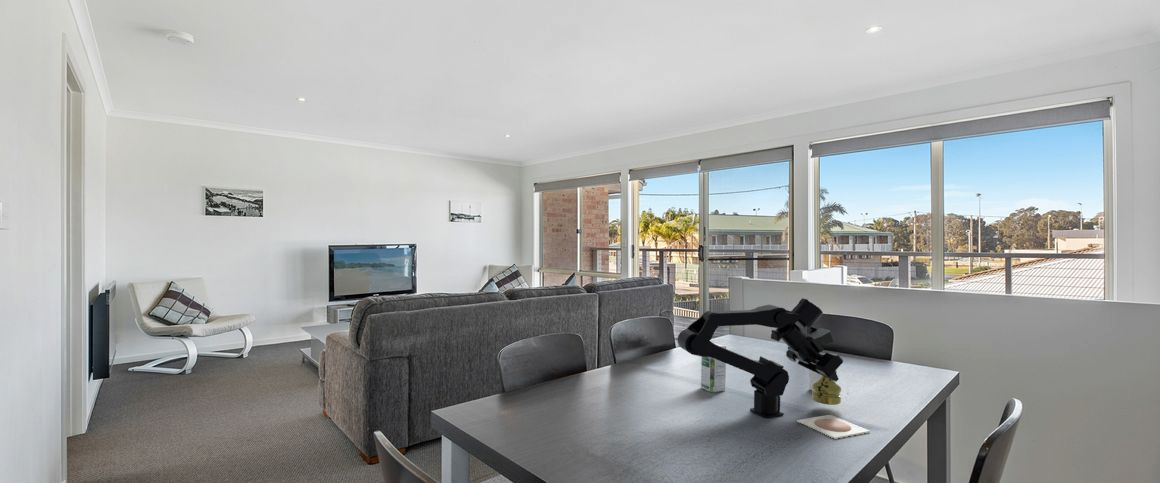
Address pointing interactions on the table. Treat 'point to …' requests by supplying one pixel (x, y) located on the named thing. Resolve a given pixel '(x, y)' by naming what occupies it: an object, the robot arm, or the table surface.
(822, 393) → the brass door knob
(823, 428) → the card
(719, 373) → the syrup box
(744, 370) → the robot arm
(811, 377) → the eye dropper bottle
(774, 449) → the table surface
